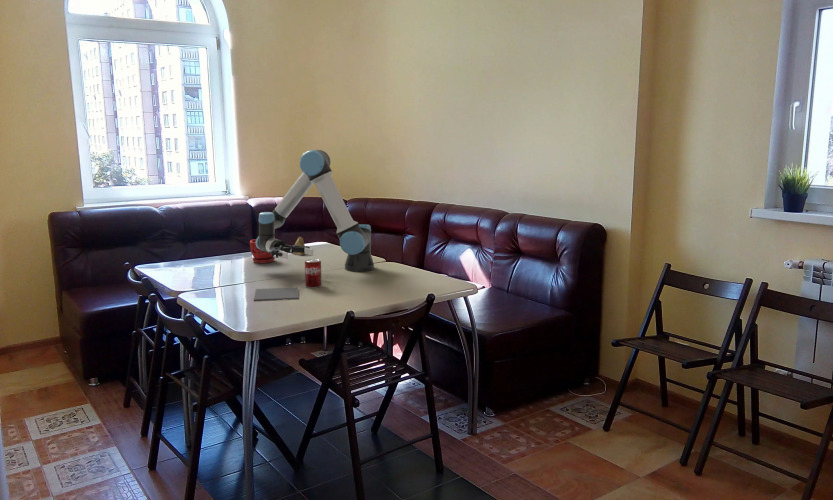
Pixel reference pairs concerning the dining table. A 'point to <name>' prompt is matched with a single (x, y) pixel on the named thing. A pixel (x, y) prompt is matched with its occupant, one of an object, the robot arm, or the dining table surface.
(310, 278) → the soda can
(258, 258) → the plant pot
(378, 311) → the dining table surface
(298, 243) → the rock
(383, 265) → the dining table surface
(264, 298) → the mat
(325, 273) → the dining table surface
